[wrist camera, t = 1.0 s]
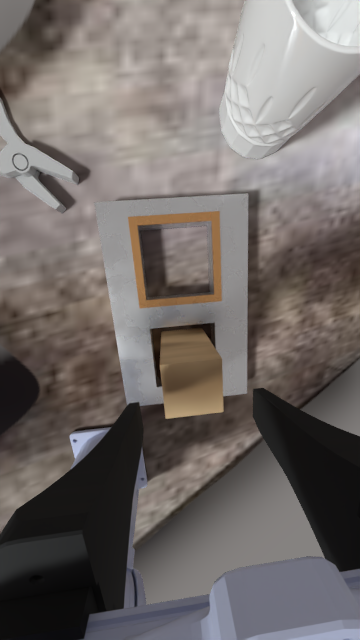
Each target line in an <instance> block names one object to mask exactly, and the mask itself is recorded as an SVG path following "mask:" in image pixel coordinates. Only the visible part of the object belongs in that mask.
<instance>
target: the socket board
mask: <svg viewBox="0 0 360 640" xmlns="http://www.w3.org/2000/svg"><path fill="white" fill-rule="evenodd" d="M94 204H95V210H96V216H97V223H98V229H99V235H100V241H101V247H102V253H103V259H104V266H105V272H106V278H107V284H108V290H109V296H110V303H111V309H112V315H113V321H114V327H115V333H116V339H117V346H118V352H119V358H120V364H121V370H122V376H123V383H124V389H125V395H126V401H127V405H128V404H129V403H134V402H139V404H140V406H143V405H152V404H161V403H164V399H163V390H162V381H161V377H157V370H156V361H155V353H154V344H153V335H152V328H162V327H173V326H184V325H194V324H205V323H211V343H212V344H213V346H214V347H215V349H216V350H217V352H218V353H219V355H220V356H221V358H222V373H223V396H230V395H239V394H247V316H248V193H244V194H227V195H210V196H193V197H176V198H159V199H141V200H124V201H107V202H94ZM202 226H207V248H208V273H209V292H205V293H193V294H181V295H170V296H158V297H148V292H147V283H146V275H145V266H144V257H143V249H142V240H141V232H140V231H142V230H157V229H172V228H187V227H202Z"/></svg>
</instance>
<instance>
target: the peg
mask: <svg viewBox="0 0 360 640" xmlns="http://www.w3.org/2000/svg"><path fill="white" fill-rule="evenodd" d="M160 372H161V381H162V390H163V399H164V408H165V417H166V419H169V418H177V417H186V416H194V415H202V414H211V413H219V412H224V411H223V373H222V358H221V356H220V355H219V353H218V352H217V350H216V349H215V347H214V346H213V344H212V343H211V341H210V340H209V338H208V337H207V335H206V334H205V332H204V330H203V329H202V328H192V329H181V330H171V331H161V350H160Z"/></svg>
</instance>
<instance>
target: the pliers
mask: <svg viewBox="0 0 360 640" xmlns="http://www.w3.org/2000/svg"><path fill="white" fill-rule="evenodd" d="M0 136H1V137H2V138H3V139H4V140H5V141H6V142H7V143H8V144H7V145H6V146H5V147H4V148H3V149H2V150H1V152H0V176H4V177H7V178H12V177H15V178H16V179H17V180H18V181H19V182H20V183H21V184H22V185H23V187H24V188H26V189H27V190H28V191H30V192H31V193H33V194H34V195H35V196H37V197H38V198H40V199H41V200H43V201H44V202H45V203H47V204H48V205H50V206H51V207H52V208H54V209H55V210H57V211H59V212H61V213H63V212H64V211H65V210H66V209H67V208H66V207H65V206H64V205H63V204H62V203H61V202H60V201H59V200H58V199H57V198H56V197H55V196H54V195H53V194H52V193H51V192H50V191H49V190H48V189H47V188H46V187H45V186H44V185H43V184H42V183H41V182H40V180H39V178H38V176H39V174H40V172H41V173H46V174H48V175H51V176H54V177H57V178H60V179H62V180H65V181H68V182H71V183H74V184H76V185H78V181H79V177H78V176H77V175H76V174H75V173H74V172H73V171H72V170H71V169H69V168H67V167H66V166H64V165H62V164H61V163H59V162H57V161H56V160H54V159H53V158H51V157H49V156H48V155H46V154H44V153H43V152H41V151H39V150H38V149H36V148H34V147H33V146H30V145H27V144H26V143H25V142H24V141H23V140H22V139H21V138H20V137H19V136H18V134H17V132H16V131H15V129H14V127H13V126H12V124H11V122H10V120H9V117H8V114H7V112H6V109H5V106H4V104H3V101H2V99H1V98H0Z"/></svg>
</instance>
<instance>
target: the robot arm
mask: <svg viewBox="0 0 360 640" xmlns="http://www.w3.org/2000/svg"><path fill="white" fill-rule="evenodd" d="M253 418H254V420H255V422H256V425H257V427H258V429H259V431H260V433H261V435H262V436H263V438H264V440H265V441H266V443H267V445H268V446H269V448H270V450H271V451H272V453H273V454H274V456H275V458H276V459H277V461H278V462H279V464H280V466H281V467H282V469H283V471H284V473H285V474H286V476H287V478H288V480H289V482H290V484H291V486H292V488H293V490H294V492H295V494H296V496H297V498H298V500H299V502H300V504H301V506H302V508H303V510H304V512H305V515H306V517H307V519H308V521H309V523H310V525H311V528H312V530H313V532H314V534H315V536H316V539H317V541H318V543H319V545H320V547H321V549H322V552H323V554H324V556H325V559H324V558H323V557H311V556H309V557H308V556H307V557H302V558H295V559H289V560H283V561H277V562H271V563H264V564H259V565H252V566H246V567H240V568H237V569H234V570H231V571H228V572H225V573H224V574H223V575H222V576H221V577H219V578H218V579H217V580H216V581H215V582H214V584H213V587H212V590H211V593H210V594H207V595H201V596H195V597H190V598H184V599H178V600H172V601H166V602H160V603H154V604H148V605H146V598H145V591H144V584H143V579H142V576H141V574H140V572H139V571H138V570H137V569H134V568H133V561H134V552H135V549H134V548H132V545H133V538H134V530H135V521H136V513H137V504H138V495H139V489H140V488H145V487H146V486H147V476H146V469H145V462H144V456H143V449H142V441H143V424H142V418H141V411H140V404H139V402H134V403H129V404H128V405H127V407H126V408H125V409H124V411H123V412H122V414H121V415H120V417H119V418H118V419H117V421H116V422H115V423H114V425H113V426H112V427H108V428H100V429H91V430H83V431H75V432H72V433H71V435H70V441H71V444H72V448H73V452H74V456H75V461H74V463H73V465H72V467H71V469H70V471H69V472H67V473H66V474H65V475H64V476H62V477H61V478H60V479H59V480H57V481H56V482H55V483H53V484H52V485H51V486H50V487H48V488H47V489H46V490H44V491H43V492H41V493H40V494H39V495H37V496H36V497H34V498H33V499H31V500H30V501H28V502H27V503H25V504H24V505H23V506H21V507H19V508H18V509H17V510H16V511H15V512H14V514H13V515H12V517H11V518H10V520H9V521H8V523H7V524H6V526H5V528H4V529H3V531H2V533H1V534H0V640H360V436H357V435H354V434H351V433H349V432H346V431H344V430H341V429H339V428H336V427H334V426H331V425H330V424H327V423H325V422H323V421H321V420H319V419H317V418H315V417H313V416H311V415H309V414H307V413H305V412H303V411H301V410H299V409H298V408H296V407H294V406H292V405H291V404H289V403H287V402H286V401H284V400H282V399H281V398H279V397H277V396H276V395H274V394H272V393H271V392H269V391H267V390H266V389H264V388H258V389H253ZM75 439H76V440H75Z"/></svg>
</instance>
